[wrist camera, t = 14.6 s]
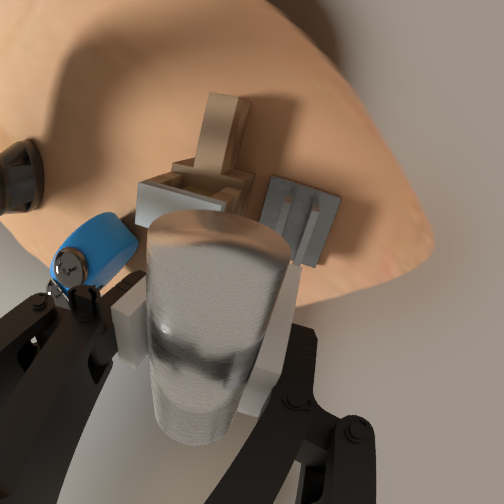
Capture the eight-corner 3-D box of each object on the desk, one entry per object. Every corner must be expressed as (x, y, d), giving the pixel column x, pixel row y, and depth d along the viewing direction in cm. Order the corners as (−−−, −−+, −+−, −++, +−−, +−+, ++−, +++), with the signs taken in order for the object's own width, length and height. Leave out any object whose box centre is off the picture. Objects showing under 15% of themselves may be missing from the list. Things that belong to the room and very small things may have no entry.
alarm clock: (128, 199, 36) (49, 238, 22) (155, 230, 37) (82, 281, 23) (96, 251, 41) (34, 294, 28) (118, 277, 42) (60, 328, 29)
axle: (238, 395, 14) (221, 455, 10) (171, 373, 14) (143, 427, 10) (294, 230, 9) (286, 298, 6) (183, 200, 9) (117, 246, 6)
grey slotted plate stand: (254, 244, 34) (241, 266, 29) (273, 174, 30) (263, 183, 25) (315, 264, 33) (313, 290, 28) (340, 196, 29) (345, 210, 24)
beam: (227, 287, 38) (196, 339, 28) (175, 268, 38) (134, 311, 29) (272, 107, 27) (248, 92, 17) (206, 95, 27) (155, 81, 18)
